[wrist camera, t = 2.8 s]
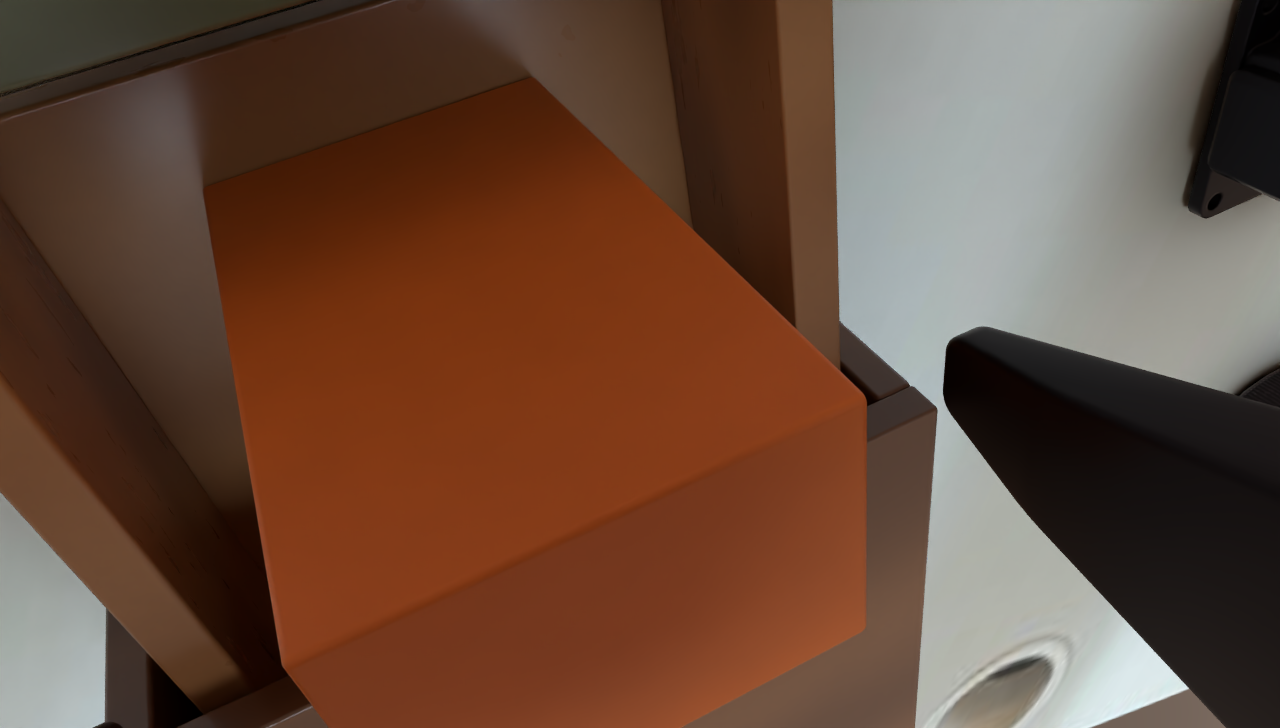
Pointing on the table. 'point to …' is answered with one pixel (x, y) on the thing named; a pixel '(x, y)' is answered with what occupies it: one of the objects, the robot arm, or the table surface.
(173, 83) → the drawer
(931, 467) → the cabinet
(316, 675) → the orange rectangular block
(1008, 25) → the table surface
